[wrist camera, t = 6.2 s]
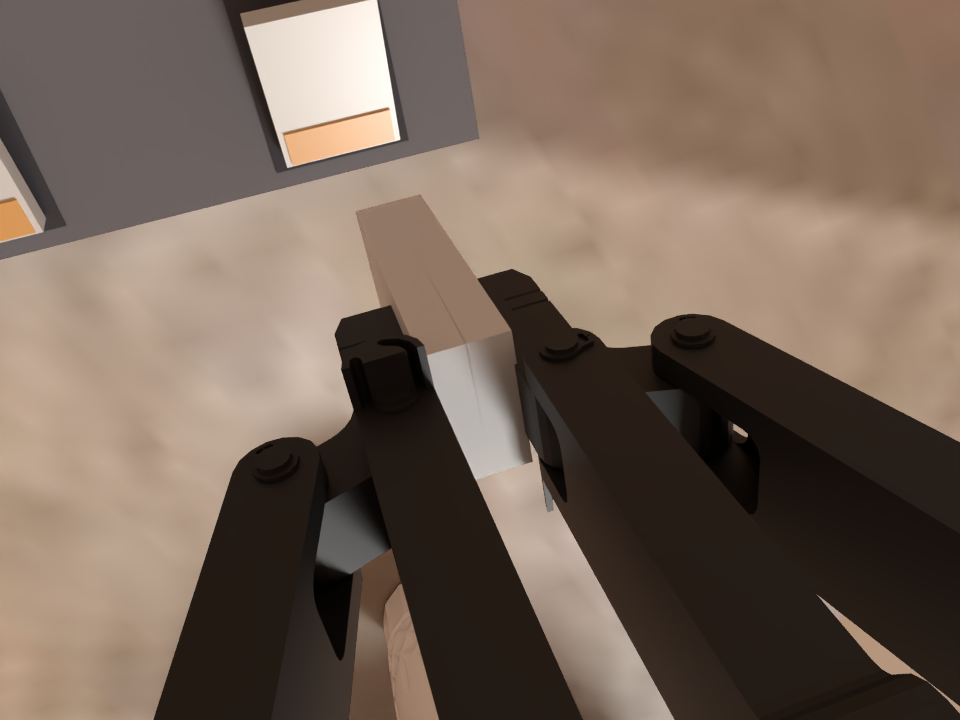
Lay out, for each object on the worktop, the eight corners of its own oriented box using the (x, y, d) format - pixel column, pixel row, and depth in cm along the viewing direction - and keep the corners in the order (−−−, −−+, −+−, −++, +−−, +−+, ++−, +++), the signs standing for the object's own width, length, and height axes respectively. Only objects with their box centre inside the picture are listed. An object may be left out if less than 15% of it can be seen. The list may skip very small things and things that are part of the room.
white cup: (524, 557, 45) (592, 706, 37) (478, 653, 49) (532, 809, 40) (395, 548, 42) (439, 708, 34) (355, 651, 45) (387, 821, 37)
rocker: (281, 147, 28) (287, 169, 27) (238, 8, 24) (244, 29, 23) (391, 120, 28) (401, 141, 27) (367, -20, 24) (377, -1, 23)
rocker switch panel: (-125, 263, 28) (-161, 302, 26) (-327, -45, 23) (-397, -36, 20) (458, 118, 32) (480, 139, 29) (406, -180, 26) (427, -188, 23)
